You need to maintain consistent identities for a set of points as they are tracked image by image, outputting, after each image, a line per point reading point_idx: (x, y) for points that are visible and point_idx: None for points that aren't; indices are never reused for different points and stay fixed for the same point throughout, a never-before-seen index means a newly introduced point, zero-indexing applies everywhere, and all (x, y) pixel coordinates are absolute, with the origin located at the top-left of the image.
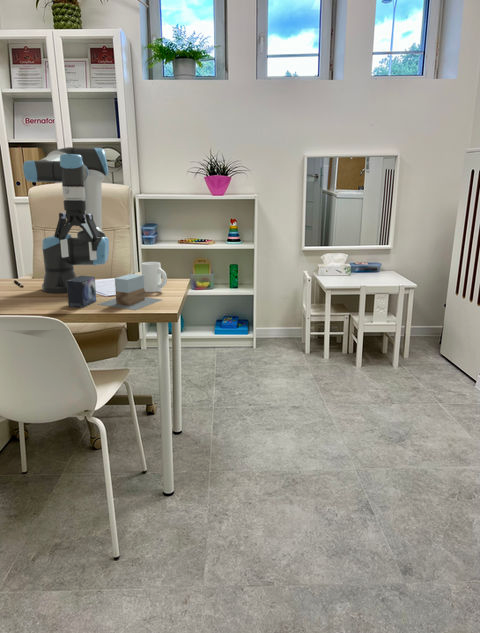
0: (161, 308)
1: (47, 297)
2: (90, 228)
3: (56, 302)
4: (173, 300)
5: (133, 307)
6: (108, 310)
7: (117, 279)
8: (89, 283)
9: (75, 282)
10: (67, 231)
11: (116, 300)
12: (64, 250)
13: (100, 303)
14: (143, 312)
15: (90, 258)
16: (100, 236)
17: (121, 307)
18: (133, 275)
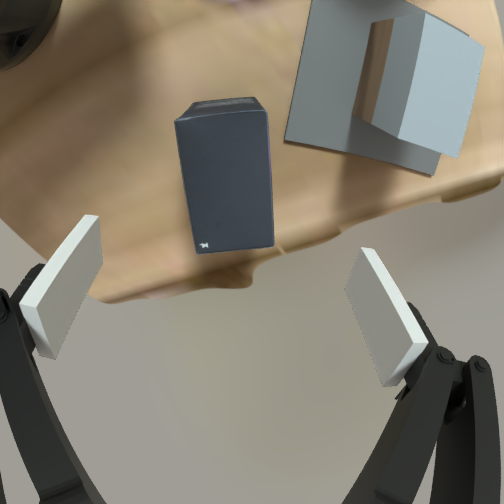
0: (484, 129)
1: (39, 116)
2: (441, 481)
3: (113, 155)
4: (488, 33)
5: (421, 146)
6: (353, 185)
7: (409, 141)
8: (271, 173)
9: (243, 247)
10: (53, 416)
11: (357, 116)
12: (84, 279)
13: (291, 124)
14: (452, 179)
15: (351, 297)
16: (490, 378)
17: (386, 155)
18: (451, 56)
